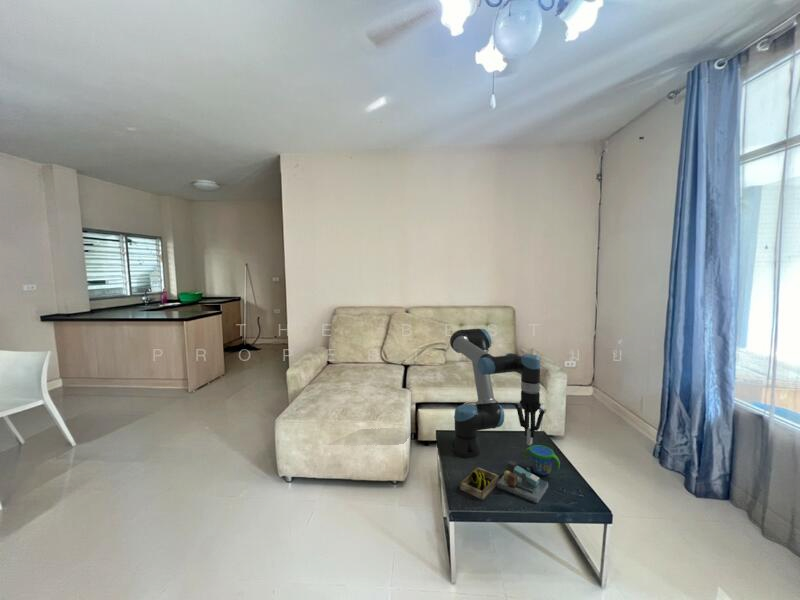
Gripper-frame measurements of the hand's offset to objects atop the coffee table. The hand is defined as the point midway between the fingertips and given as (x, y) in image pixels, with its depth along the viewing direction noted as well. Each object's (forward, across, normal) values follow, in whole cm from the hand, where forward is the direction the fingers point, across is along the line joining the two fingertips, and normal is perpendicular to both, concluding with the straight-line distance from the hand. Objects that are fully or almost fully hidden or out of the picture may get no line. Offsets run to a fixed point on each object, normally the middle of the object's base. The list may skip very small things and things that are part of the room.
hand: (529, 443), depth 142 cm
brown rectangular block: (+16, -4, -9) cm, 18 cm away
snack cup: (+19, +1, +13) cm, 23 cm away
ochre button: (+16, -7, -6) cm, 18 cm away
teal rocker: (+14, 0, -2) cm, 14 cm away
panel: (+18, -1, -4) cm, 19 cm away
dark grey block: (+16, -8, 0) cm, 18 cm away
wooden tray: (+18, -16, -15) cm, 28 cm away
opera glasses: (+18, -16, -15) cm, 28 cm away
